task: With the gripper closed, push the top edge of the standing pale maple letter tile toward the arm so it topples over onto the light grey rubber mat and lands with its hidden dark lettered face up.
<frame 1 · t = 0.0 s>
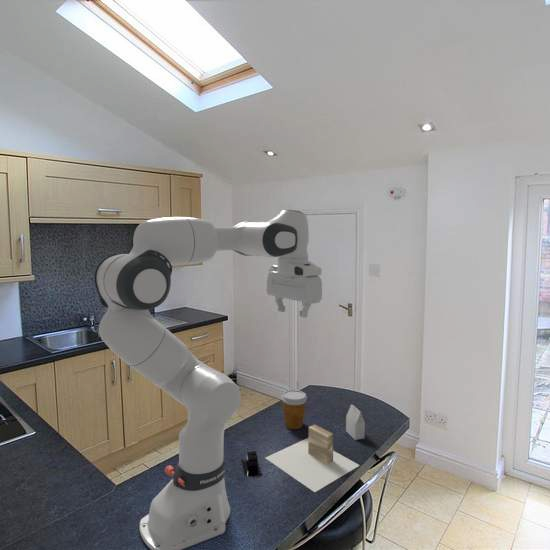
hand: (292, 314, 119), 48 cm above the countertop, fingers open, 8 cm apart
black mounting plate: (252, 469, 125), on the countertop
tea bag: (354, 435, 144), on the countertop
felt mat: (311, 462, 127), on the countertop
disposable coffee cup: (293, 425, 151), on the countertop
letter block: (320, 456, 130), resting on felt mat
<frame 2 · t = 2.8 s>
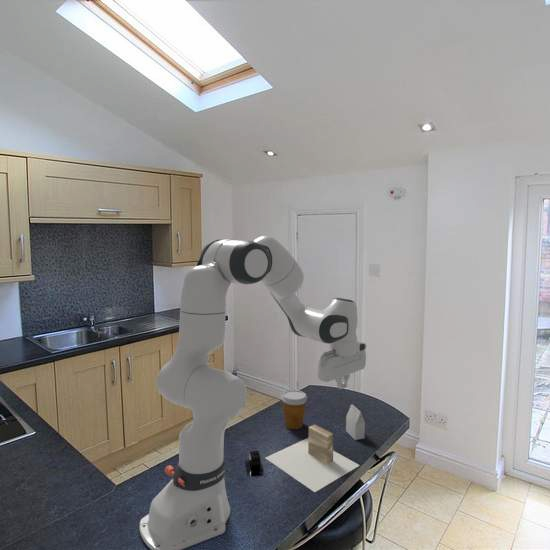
hand: (342, 387, 134), 21 cm above the countertop, fingers closed
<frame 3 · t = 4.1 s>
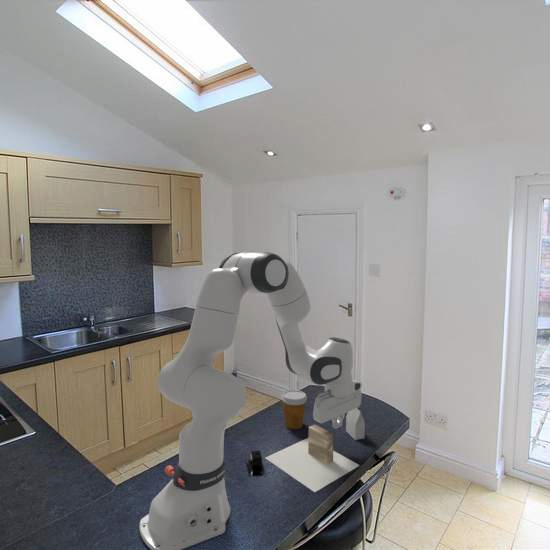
hand: (337, 426, 134), 8 cm above the countertop, fingers closed
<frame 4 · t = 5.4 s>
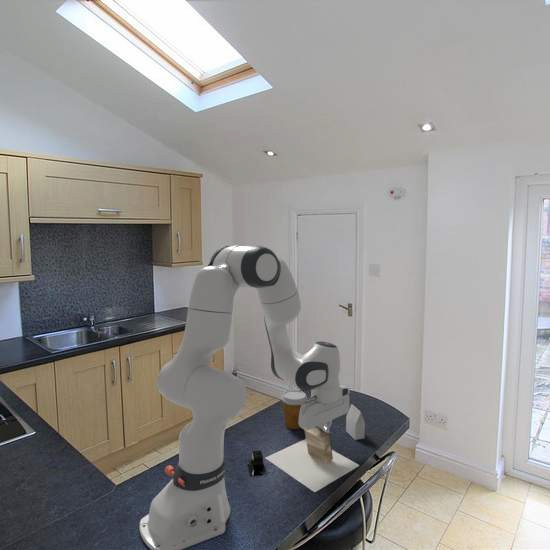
hand: (324, 433, 130), 8 cm above the countertop, fingers closed
letter block: (320, 456, 130), point 1 cm above the countertop, tilted 12°, touching felt mat, gripper
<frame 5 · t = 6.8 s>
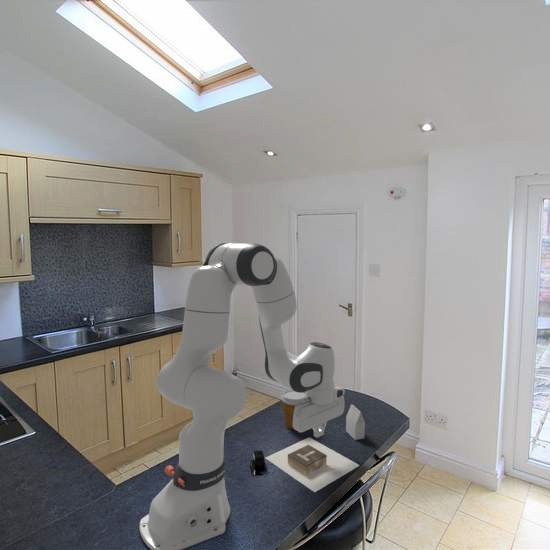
hand: (318, 435, 128), 8 cm above the countertop, fingers closed
letter block: (317, 454, 129), point 2 cm above the countertop, tilted 90°, touching felt mat
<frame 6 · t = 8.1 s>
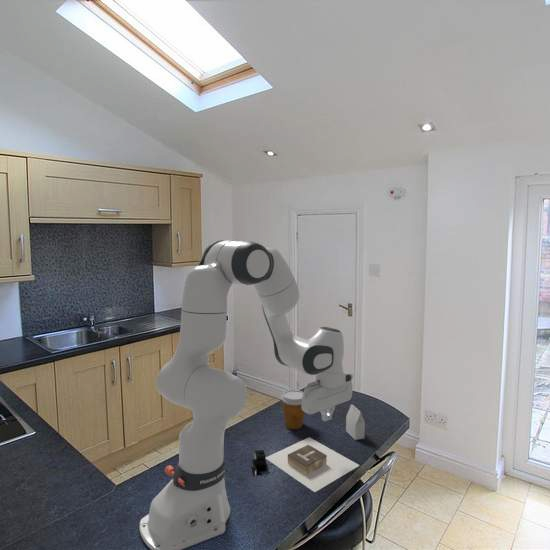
hand: (326, 419, 130), 12 cm above the countertop, fingers closed
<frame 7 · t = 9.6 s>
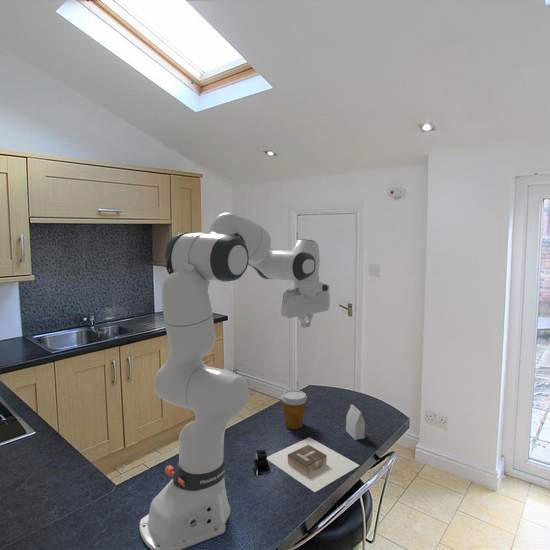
hand: (305, 326, 140), 39 cm above the countertop, fingers closed
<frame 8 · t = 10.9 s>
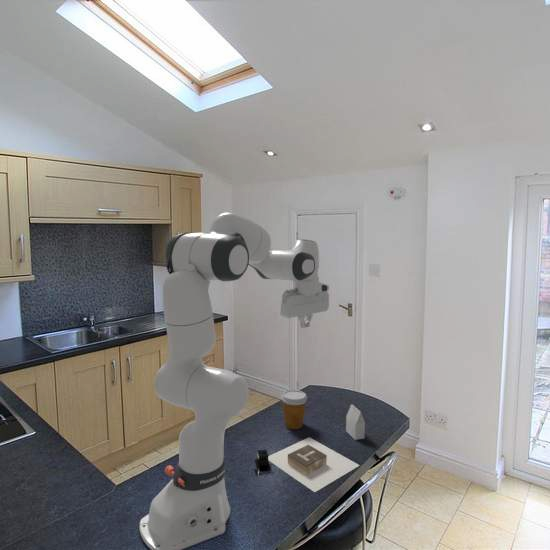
hand: (305, 327, 140), 39 cm above the countertop, fingers closed
at the end: letter block tilted 90°; letter block inside the target area (0.8 cm from its centre), point 1.7 cm above the countertop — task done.
